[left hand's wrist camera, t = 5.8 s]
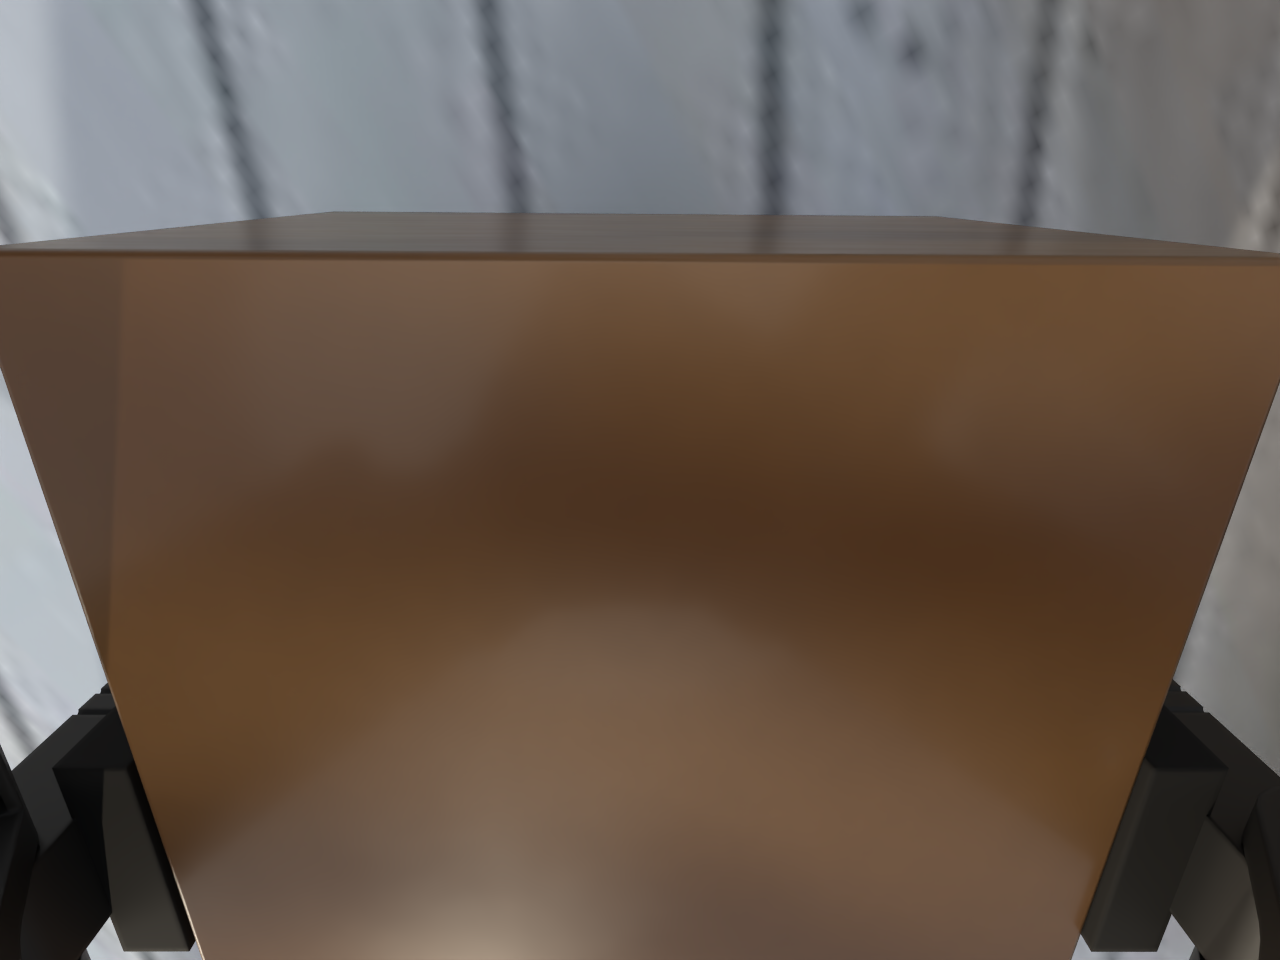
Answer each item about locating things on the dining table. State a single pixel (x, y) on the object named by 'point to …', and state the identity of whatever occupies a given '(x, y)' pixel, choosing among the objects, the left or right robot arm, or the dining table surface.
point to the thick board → (638, 566)
